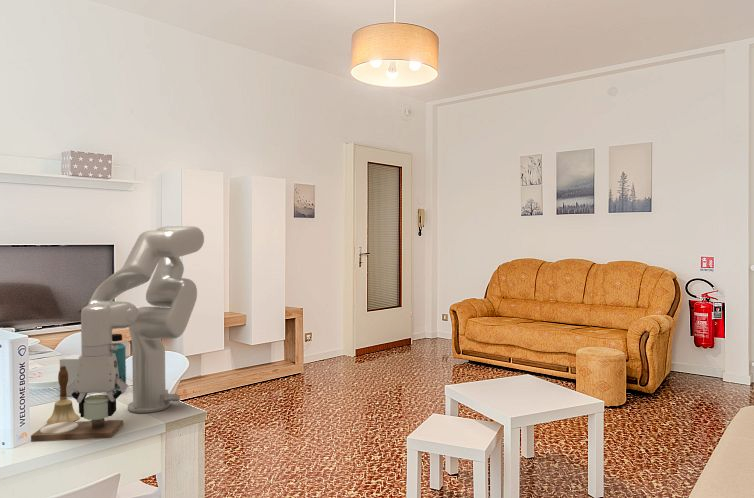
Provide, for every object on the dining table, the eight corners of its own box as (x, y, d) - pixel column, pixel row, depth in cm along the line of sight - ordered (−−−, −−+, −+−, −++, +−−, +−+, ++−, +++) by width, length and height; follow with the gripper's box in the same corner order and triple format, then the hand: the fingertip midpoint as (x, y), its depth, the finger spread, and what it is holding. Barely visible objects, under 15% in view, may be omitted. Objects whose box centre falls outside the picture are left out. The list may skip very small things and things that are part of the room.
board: (123, 424, 159) (123, 419, 159) (111, 437, 149) (110, 431, 149) (48, 428, 157) (48, 422, 156) (31, 441, 147) (30, 434, 147)
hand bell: (86, 416, 166) (85, 363, 166) (64, 426, 158) (63, 370, 158) (62, 414, 168) (62, 362, 168) (40, 423, 160) (39, 368, 160)
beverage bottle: (113, 388, 196) (112, 332, 195) (130, 389, 195) (129, 332, 194) (101, 394, 189) (100, 335, 189) (119, 395, 188) (118, 336, 188)
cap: (114, 411, 157) (113, 392, 157) (106, 419, 151) (105, 398, 150) (89, 412, 156) (89, 392, 156) (80, 420, 150) (80, 399, 150)
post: (106, 424, 155) (105, 399, 155) (102, 428, 152) (101, 402, 152) (94, 424, 155) (93, 399, 155) (89, 428, 152) (89, 403, 151)
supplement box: (81, 396, 187) (80, 359, 186) (59, 396, 187) (58, 358, 186) (92, 390, 194) (92, 354, 194) (71, 390, 194) (70, 354, 194)
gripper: (134, 346, 158) (134, 409, 158) (69, 348, 155) (69, 412, 156) (125, 352, 150) (126, 418, 151) (57, 354, 148) (58, 421, 148)
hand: (97, 414), depth 153 cm, fingers closed on cap, 6 cm apart
